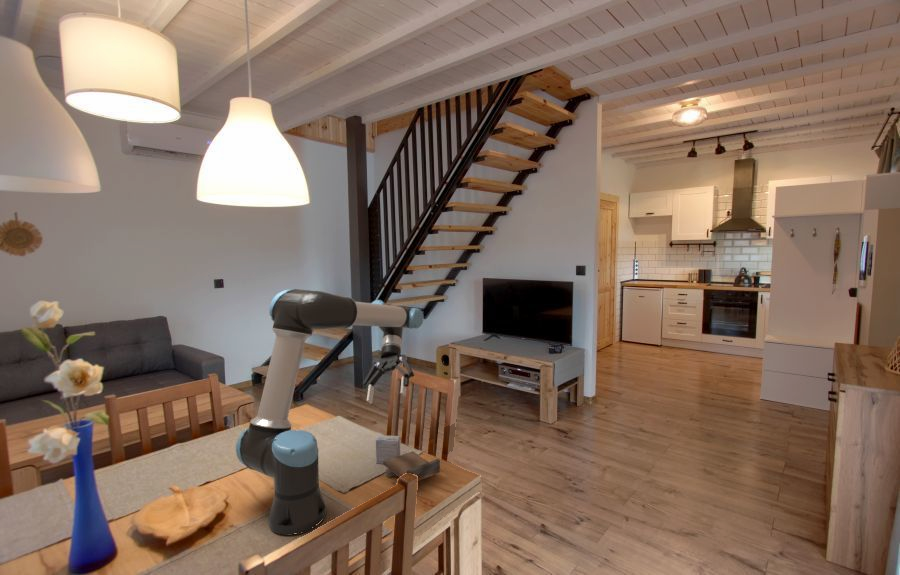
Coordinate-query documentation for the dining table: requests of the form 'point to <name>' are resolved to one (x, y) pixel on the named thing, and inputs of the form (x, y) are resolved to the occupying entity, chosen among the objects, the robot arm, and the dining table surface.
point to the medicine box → (387, 448)
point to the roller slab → (411, 466)
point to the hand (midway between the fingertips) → (386, 398)
